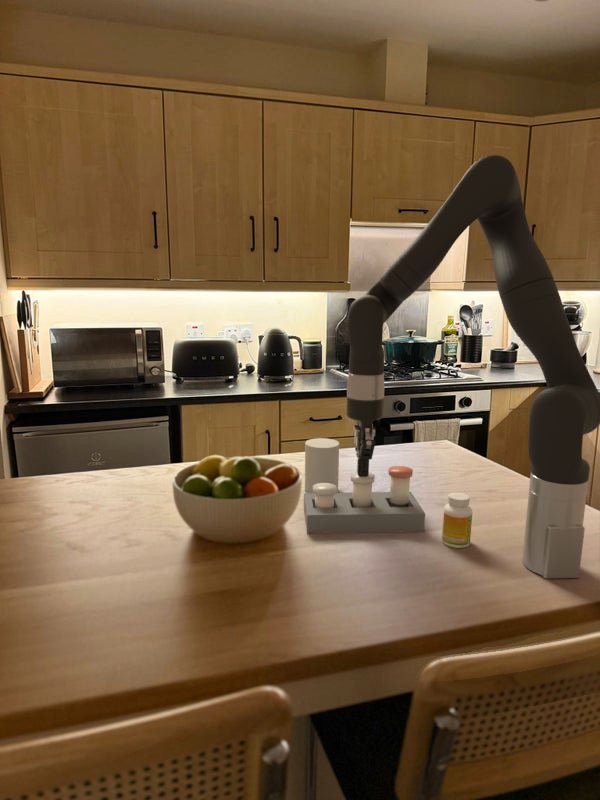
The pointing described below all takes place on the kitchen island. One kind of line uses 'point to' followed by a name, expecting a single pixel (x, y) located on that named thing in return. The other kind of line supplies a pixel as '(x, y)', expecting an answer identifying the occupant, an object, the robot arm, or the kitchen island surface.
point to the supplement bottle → (457, 521)
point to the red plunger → (400, 484)
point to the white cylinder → (321, 462)
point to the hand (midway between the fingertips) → (362, 475)
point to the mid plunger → (362, 490)
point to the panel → (363, 515)
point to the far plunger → (324, 495)
